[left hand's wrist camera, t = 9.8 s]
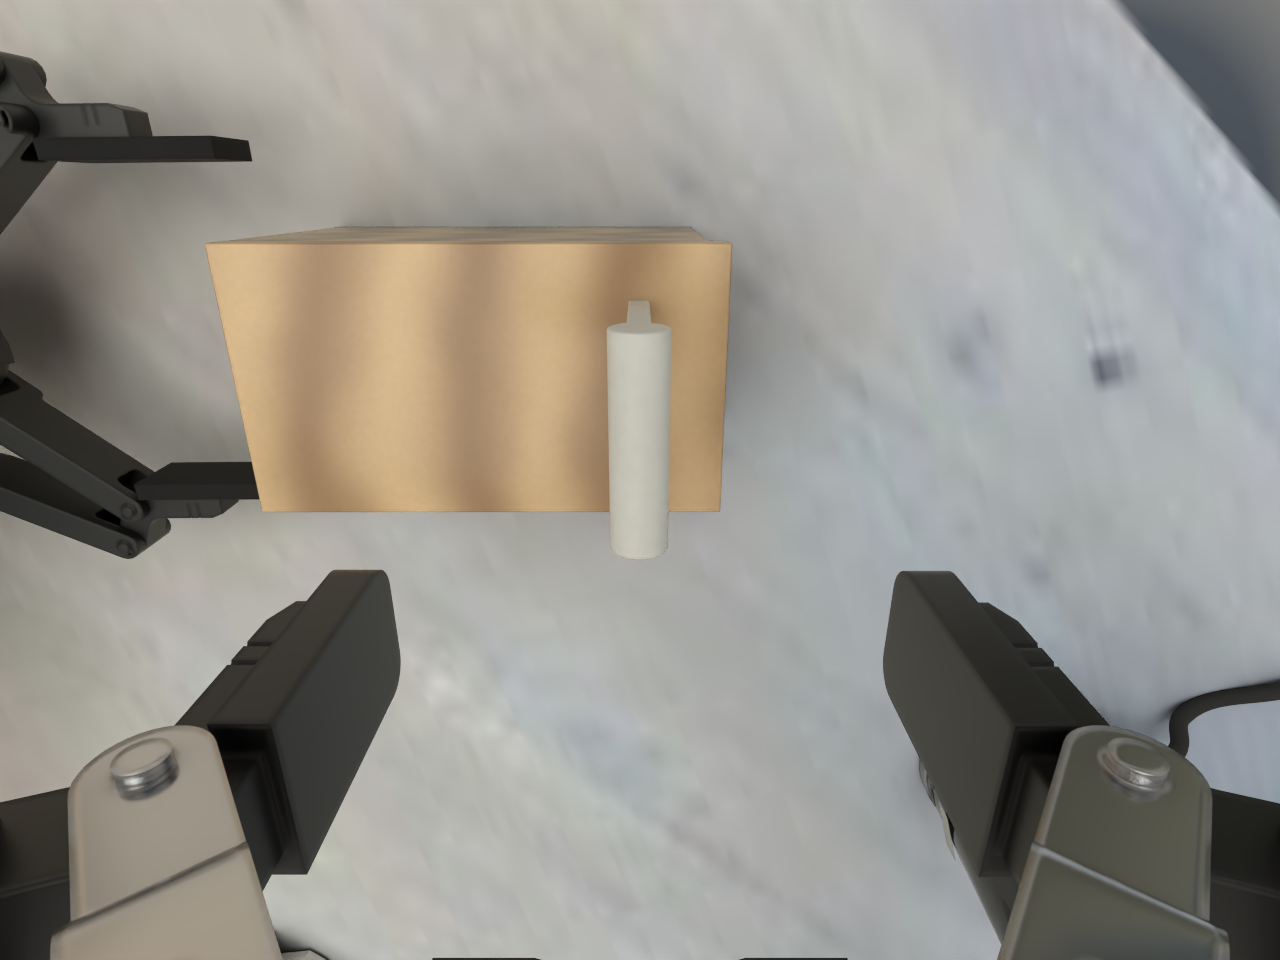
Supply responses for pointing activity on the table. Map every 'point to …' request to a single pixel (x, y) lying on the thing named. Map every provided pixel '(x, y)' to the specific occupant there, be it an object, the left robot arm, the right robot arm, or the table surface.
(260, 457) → the lid
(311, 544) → the table surface
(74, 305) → the table surface
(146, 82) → the table surface
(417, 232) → the chest
